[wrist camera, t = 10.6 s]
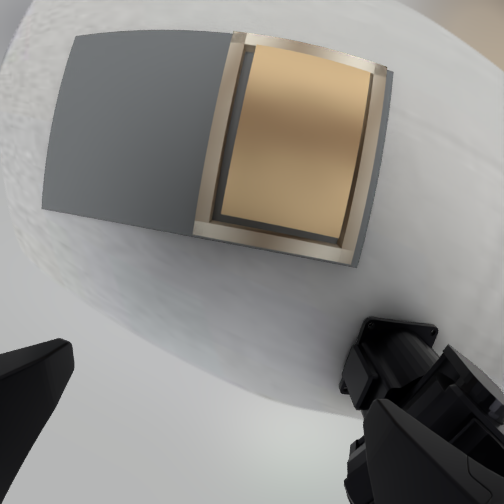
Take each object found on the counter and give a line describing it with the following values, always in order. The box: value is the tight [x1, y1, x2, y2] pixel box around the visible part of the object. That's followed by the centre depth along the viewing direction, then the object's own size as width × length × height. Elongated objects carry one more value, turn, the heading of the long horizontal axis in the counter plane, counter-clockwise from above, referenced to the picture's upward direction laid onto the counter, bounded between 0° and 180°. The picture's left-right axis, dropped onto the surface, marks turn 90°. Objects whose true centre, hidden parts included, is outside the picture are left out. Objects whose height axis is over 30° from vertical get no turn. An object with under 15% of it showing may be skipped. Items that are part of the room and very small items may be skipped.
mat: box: [42, 30, 393, 268], centre depth 17 cm, size 22×13×1 cm, turn 79°
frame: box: [193, 31, 387, 265], centre depth 16 cm, size 9×12×1 cm
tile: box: [221, 44, 371, 238], centre depth 16 cm, size 9×6×3 cm, turn 169°
